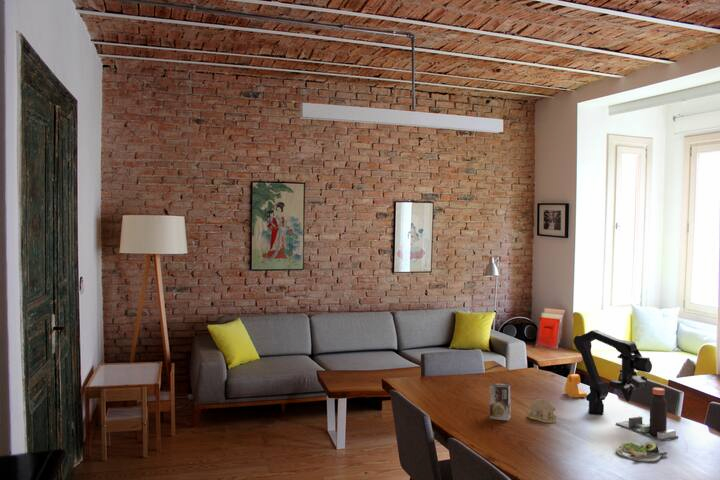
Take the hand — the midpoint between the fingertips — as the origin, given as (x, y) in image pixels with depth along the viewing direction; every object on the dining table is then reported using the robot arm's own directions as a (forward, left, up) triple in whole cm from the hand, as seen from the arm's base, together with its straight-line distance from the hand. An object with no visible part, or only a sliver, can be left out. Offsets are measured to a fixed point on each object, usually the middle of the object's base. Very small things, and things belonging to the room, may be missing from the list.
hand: (627, 401), depth 290 cm
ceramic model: (-39, -8, -10) cm, 41 cm away
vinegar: (+11, -17, -9) cm, 22 cm away
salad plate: (0, -45, -10) cm, 46 cm away
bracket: (-21, +40, -10) cm, 47 cm away
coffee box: (-58, -14, -10) cm, 61 cm away
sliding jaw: (+5, -11, -9) cm, 15 cm away
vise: (+6, -13, -10) cm, 17 cm away
